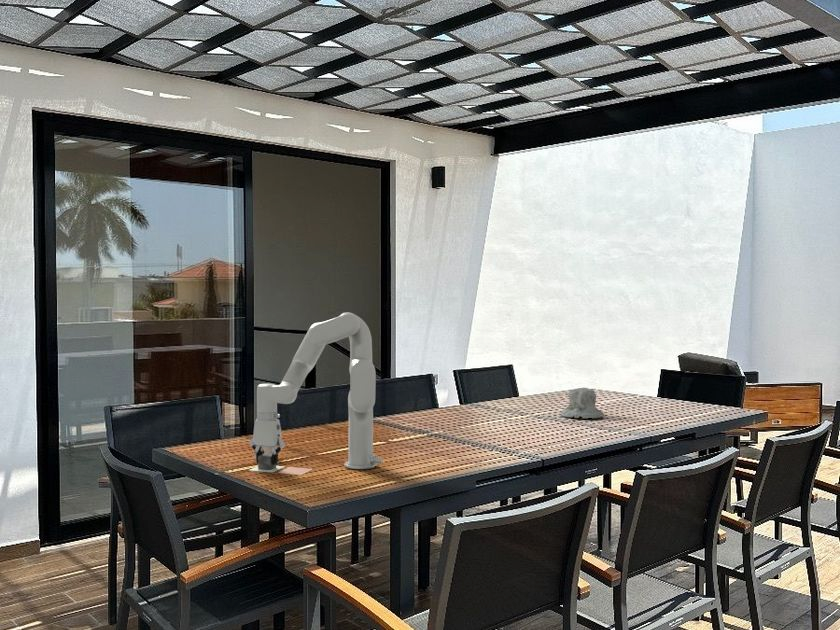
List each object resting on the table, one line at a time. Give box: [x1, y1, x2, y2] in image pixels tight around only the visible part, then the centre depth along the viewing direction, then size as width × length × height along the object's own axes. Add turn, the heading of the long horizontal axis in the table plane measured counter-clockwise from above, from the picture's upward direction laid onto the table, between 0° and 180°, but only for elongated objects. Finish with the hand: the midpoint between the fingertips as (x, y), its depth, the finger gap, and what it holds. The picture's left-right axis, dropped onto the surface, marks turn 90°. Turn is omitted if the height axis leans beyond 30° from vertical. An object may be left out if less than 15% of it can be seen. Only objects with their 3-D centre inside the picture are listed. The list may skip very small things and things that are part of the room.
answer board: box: [249, 465, 314, 476], centre depth 303 cm, size 22×10×1 cm, turn 72°
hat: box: [560, 387, 605, 419], centre depth 434 cm, size 26×23×15 cm
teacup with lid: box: [253, 446, 273, 461], centre depth 322 cm, size 12×9×12 cm
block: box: [257, 453, 277, 470], centre depth 305 cm, size 5×5×5 cm
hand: (267, 462), depth 305 cm, fingers open, 5 cm apart
